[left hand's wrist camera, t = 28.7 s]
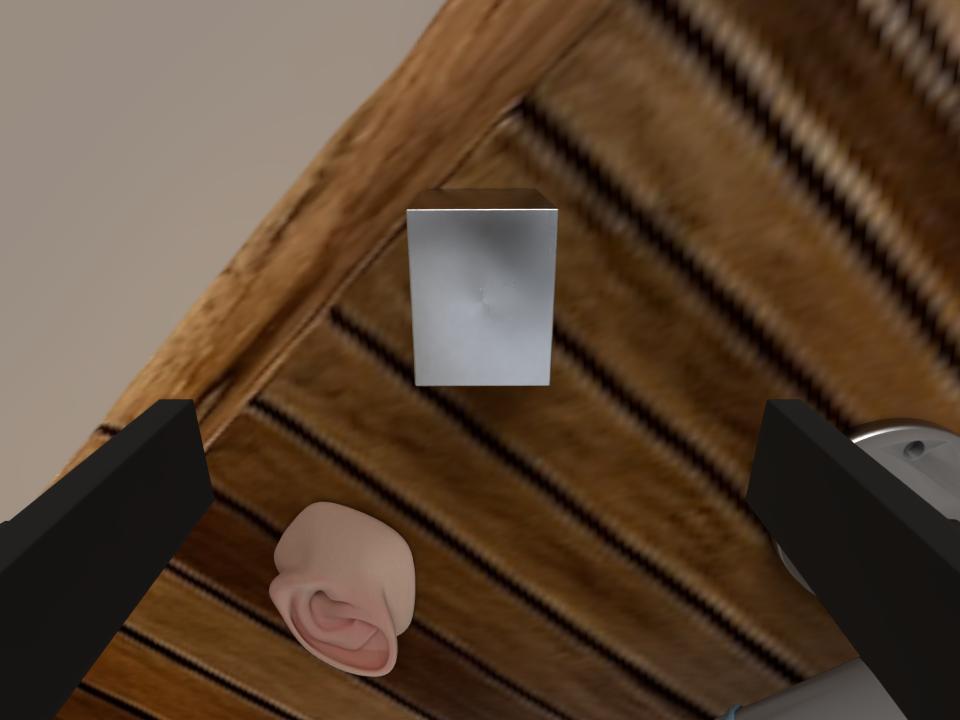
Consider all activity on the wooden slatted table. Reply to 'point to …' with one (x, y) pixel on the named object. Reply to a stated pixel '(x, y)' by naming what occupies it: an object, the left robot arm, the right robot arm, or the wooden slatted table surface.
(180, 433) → the left robot arm
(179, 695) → the wooden slatted table surface
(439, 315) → the block
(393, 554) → the anatomical model
